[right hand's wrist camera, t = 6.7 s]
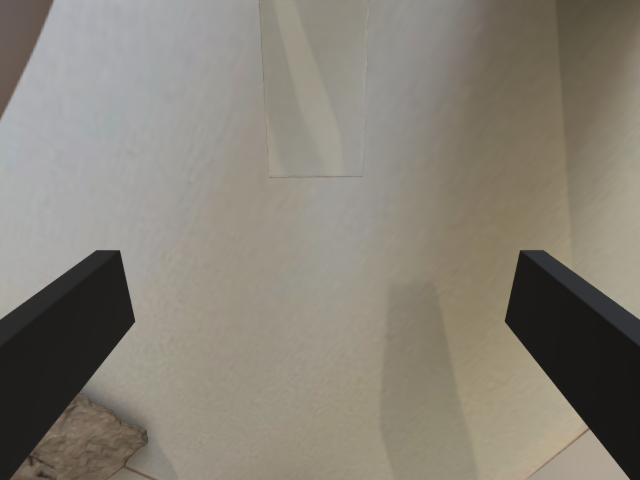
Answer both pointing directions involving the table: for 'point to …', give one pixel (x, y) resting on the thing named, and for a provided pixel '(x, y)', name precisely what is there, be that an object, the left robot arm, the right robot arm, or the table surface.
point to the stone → (83, 445)
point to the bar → (314, 86)
